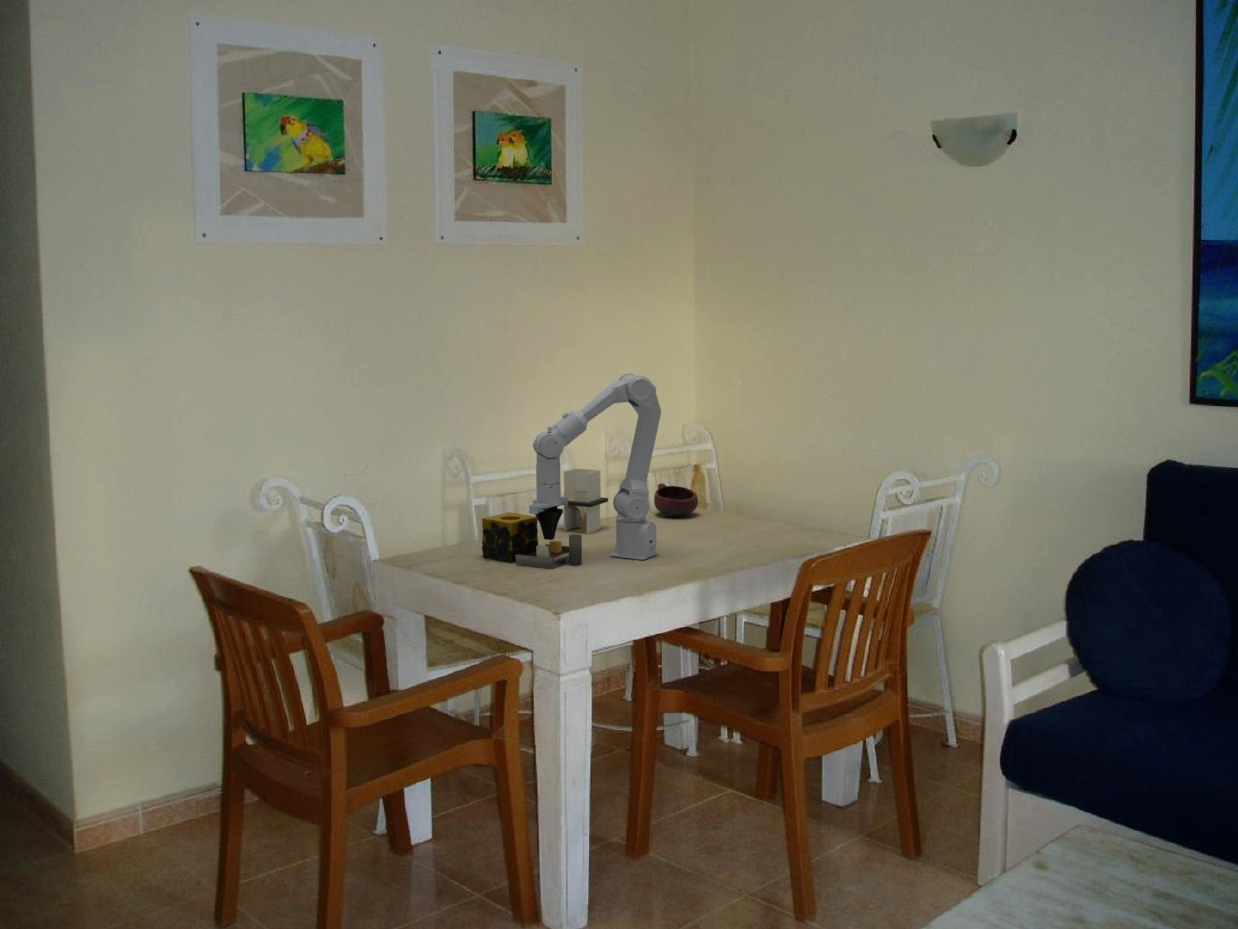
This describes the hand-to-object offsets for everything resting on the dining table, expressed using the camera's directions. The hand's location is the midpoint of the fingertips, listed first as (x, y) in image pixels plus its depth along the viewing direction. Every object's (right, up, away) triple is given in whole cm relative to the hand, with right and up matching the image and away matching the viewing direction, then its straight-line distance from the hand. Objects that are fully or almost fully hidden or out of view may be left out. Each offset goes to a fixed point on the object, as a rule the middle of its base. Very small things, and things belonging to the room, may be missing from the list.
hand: (549, 539), depth 306 cm
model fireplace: (+7, 0, +40) cm, 40 cm away
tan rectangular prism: (+1, -3, +3) cm, 5 cm away
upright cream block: (-1, -4, -2) cm, 5 cm away
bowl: (+32, +3, +61) cm, 69 cm away
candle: (-10, -5, +6) cm, 12 cm away
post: (+6, -6, -3) cm, 9 cm away
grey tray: (0, -5, +1) cm, 5 cm away
